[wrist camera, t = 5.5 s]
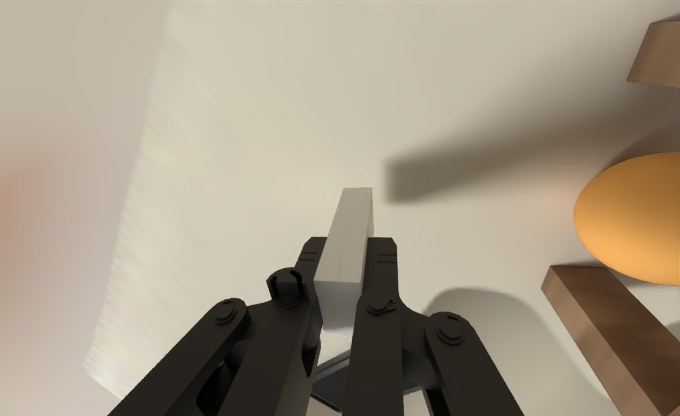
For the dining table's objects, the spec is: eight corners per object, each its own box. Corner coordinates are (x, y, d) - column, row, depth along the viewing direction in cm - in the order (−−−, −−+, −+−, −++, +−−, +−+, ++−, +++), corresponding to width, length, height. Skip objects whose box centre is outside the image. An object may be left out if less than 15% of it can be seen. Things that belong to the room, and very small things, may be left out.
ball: (885, 163, 8) (795, 208, 7) (756, 288, 11) (674, 337, 9) (649, 128, 13) (568, 150, 11) (601, 222, 15) (531, 249, 14)
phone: (290, 385, 29) (389, 336, 21) (294, 374, 30) (389, 324, 22) (344, 416, 31) (452, 380, 23) (345, 405, 32) (449, 367, 24)
